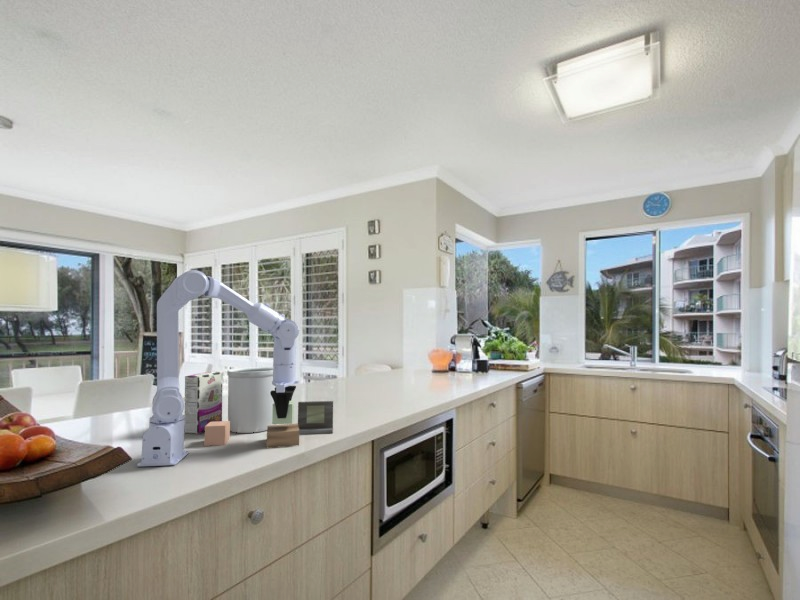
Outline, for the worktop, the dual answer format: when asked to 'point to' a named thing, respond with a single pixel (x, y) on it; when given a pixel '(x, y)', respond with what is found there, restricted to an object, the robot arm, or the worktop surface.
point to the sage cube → (288, 418)
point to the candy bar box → (202, 400)
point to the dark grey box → (315, 417)
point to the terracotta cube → (217, 433)
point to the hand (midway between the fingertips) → (283, 415)
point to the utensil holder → (250, 399)
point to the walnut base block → (282, 435)
